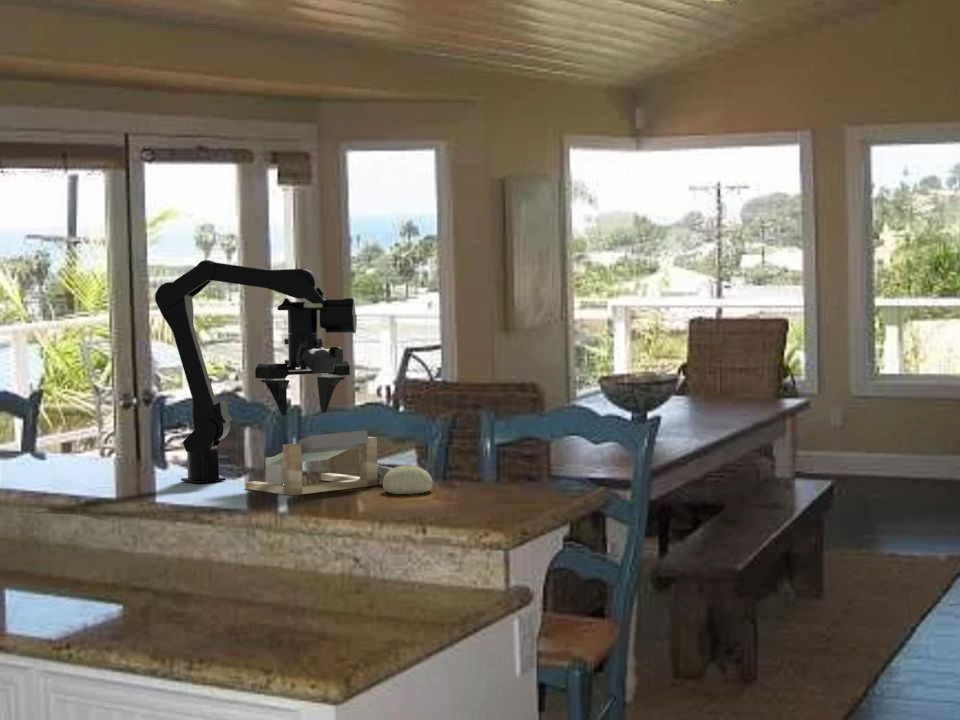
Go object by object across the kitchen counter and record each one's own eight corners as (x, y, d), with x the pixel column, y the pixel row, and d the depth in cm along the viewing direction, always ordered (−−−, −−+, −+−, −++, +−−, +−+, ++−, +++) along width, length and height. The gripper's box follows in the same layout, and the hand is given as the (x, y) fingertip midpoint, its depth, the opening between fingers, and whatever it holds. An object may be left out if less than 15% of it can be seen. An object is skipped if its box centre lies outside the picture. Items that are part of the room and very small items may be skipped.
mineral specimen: (390, 485, 300) (389, 463, 300) (429, 486, 291) (429, 463, 292) (363, 487, 296) (362, 465, 296) (402, 488, 287) (402, 464, 287)
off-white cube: (280, 459, 294) (280, 485, 295) (301, 457, 298) (302, 483, 298) (265, 457, 298) (265, 483, 298) (286, 455, 302) (287, 481, 302)
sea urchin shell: (442, 479, 285) (430, 451, 280) (431, 513, 280) (420, 486, 275) (396, 477, 288) (383, 450, 283) (385, 512, 283) (372, 485, 278)
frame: (245, 488, 290) (244, 440, 290) (330, 478, 304) (329, 433, 303) (291, 495, 279) (290, 445, 279) (377, 485, 293) (376, 437, 292)
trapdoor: (267, 469, 290) (264, 457, 290) (327, 463, 299) (324, 451, 300) (310, 448, 279) (307, 435, 280) (371, 442, 289) (368, 430, 289)
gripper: (285, 335, 289) (286, 419, 289) (366, 333, 301) (367, 413, 301) (253, 334, 297) (254, 416, 298) (333, 332, 309) (334, 410, 310)
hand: (304, 414), depth 301 cm, fingers open, 9 cm apart
